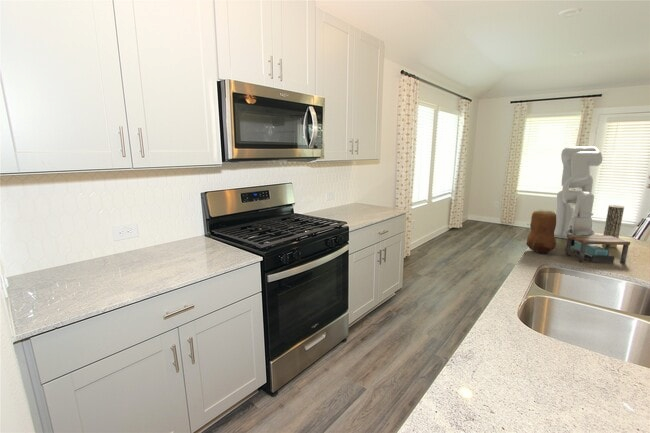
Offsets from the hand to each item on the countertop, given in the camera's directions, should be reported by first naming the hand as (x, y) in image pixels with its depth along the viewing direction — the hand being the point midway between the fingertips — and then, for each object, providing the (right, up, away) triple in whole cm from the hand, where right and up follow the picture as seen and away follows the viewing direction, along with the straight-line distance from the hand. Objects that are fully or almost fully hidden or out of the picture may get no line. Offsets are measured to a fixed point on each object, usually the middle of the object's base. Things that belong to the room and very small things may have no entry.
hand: (577, 245), depth 180 cm
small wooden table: (-1, -6, -12) cm, 14 cm away
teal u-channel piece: (-1, -3, -7) cm, 7 cm away
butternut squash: (-23, -4, -1) cm, 23 cm away
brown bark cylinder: (+27, -2, +10) cm, 29 cm away
